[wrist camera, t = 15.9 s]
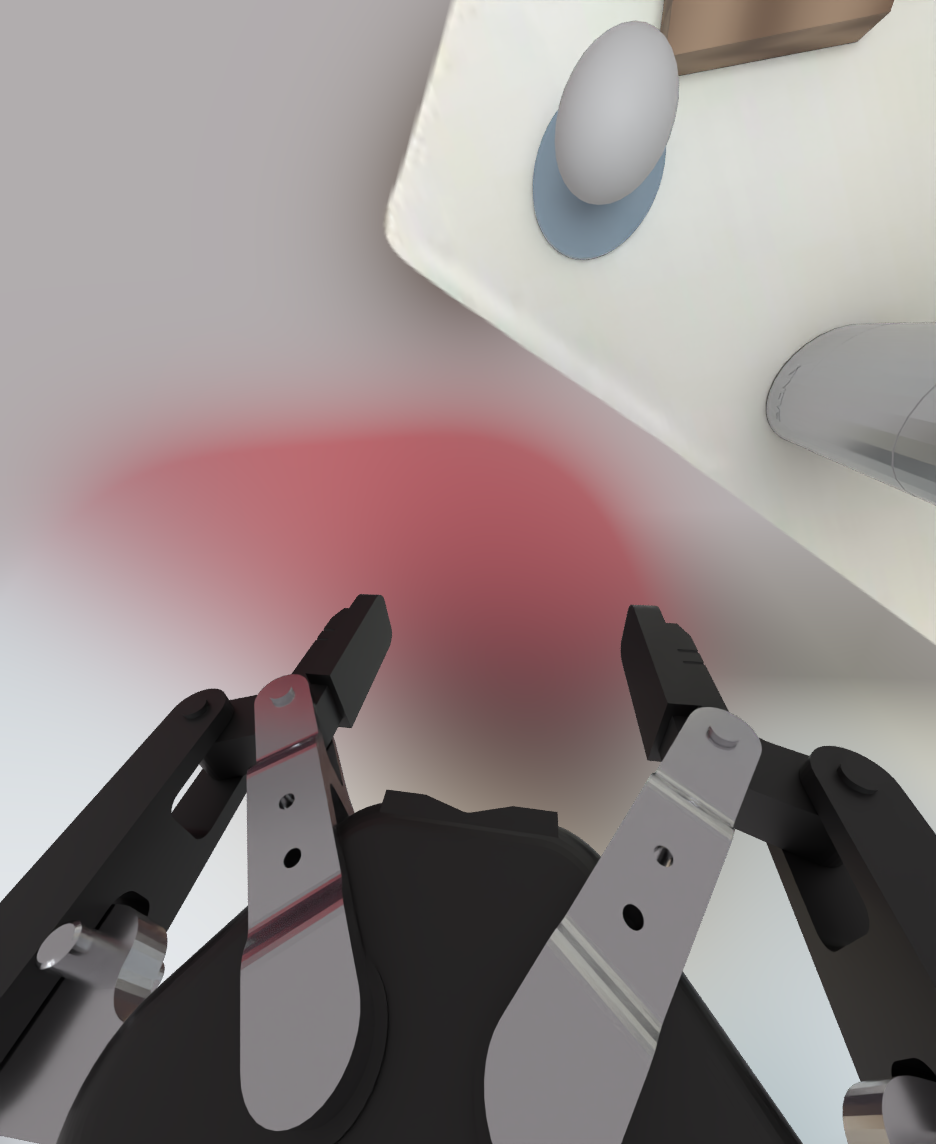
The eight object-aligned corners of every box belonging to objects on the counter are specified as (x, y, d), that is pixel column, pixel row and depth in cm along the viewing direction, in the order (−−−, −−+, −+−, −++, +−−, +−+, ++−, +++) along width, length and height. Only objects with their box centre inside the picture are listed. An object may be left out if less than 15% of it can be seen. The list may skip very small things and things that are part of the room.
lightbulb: (534, 207, 27) (534, 145, 18) (582, 90, 24) (610, -58, 15) (603, 251, 28) (635, 211, 19) (659, 142, 25) (731, 31, 16)
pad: (675, 70, 24) (680, 60, 23) (648, 252, 28) (651, 250, 28) (534, 97, 25) (534, 89, 24) (531, 266, 30) (531, 264, 29)
